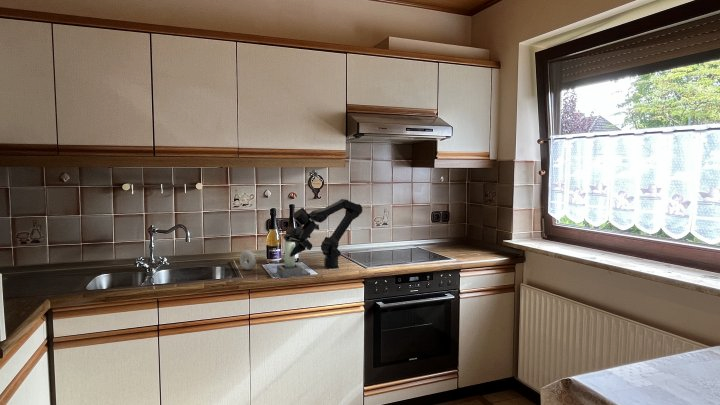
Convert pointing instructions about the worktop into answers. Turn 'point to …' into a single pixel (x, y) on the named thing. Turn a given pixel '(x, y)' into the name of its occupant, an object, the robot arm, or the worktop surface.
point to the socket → (291, 271)
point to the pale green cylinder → (288, 249)
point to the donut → (244, 263)
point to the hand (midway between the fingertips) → (287, 255)
